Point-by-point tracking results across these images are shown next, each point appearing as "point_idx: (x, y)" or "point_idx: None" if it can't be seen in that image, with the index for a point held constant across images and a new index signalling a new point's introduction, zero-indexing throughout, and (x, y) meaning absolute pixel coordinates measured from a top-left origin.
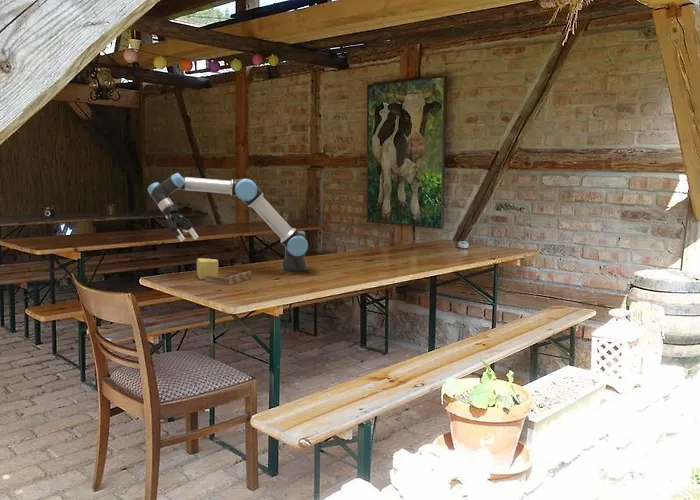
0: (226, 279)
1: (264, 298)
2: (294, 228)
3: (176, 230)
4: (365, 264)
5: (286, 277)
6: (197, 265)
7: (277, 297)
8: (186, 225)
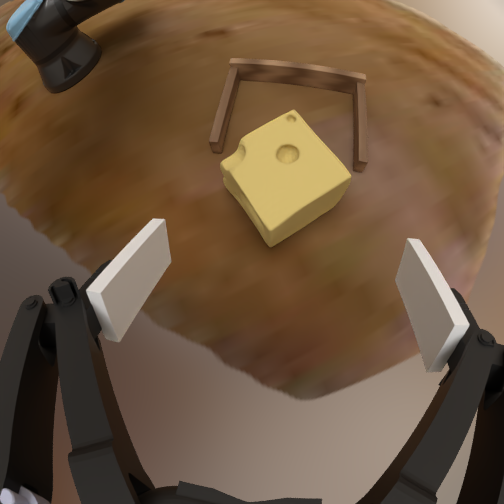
0: (364, 92)
1: (429, 28)
2: None
3: (469, 328)
4: None
5: (187, 28)
6: (283, 231)
7: (408, 13)
8: (100, 369)
